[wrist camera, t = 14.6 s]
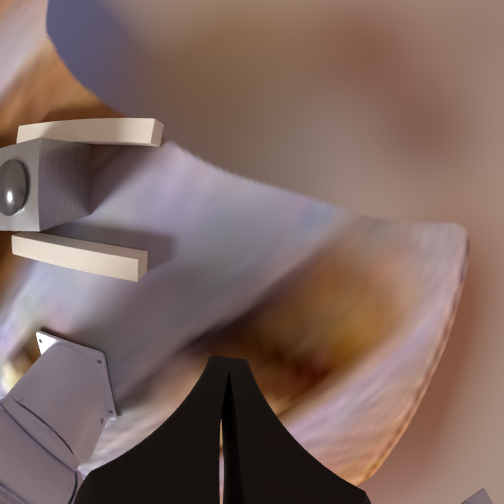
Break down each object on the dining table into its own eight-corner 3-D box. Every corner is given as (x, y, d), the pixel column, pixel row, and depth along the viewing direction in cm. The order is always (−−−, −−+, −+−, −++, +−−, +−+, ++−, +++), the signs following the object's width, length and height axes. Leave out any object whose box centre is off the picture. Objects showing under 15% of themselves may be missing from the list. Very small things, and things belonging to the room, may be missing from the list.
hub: (90, 214, 17) (36, 232, 11) (43, 215, 17) (-11, 231, 10) (92, 145, 16) (37, 137, 9) (44, 152, 15) (-12, 151, 9)
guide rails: (147, 271, 18) (137, 282, 16) (26, 247, 17) (12, 253, 15) (164, 124, 16) (154, 118, 14) (34, 128, 15) (19, 126, 13)
